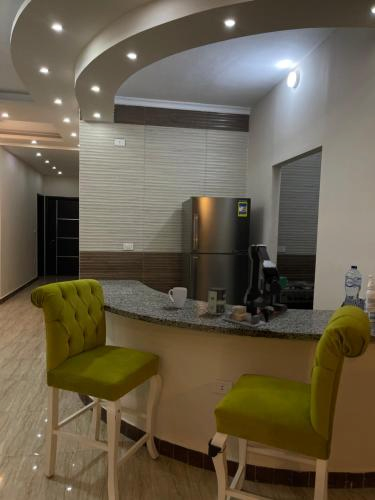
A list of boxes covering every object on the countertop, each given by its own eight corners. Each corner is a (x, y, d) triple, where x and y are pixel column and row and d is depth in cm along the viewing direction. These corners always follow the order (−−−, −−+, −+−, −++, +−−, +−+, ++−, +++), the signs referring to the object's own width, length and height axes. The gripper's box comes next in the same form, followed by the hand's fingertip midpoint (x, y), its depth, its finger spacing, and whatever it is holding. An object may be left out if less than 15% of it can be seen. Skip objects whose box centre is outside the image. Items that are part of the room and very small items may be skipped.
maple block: (231, 318, 193) (232, 307, 193) (238, 316, 197) (239, 305, 197) (237, 319, 190) (238, 308, 190) (244, 318, 194) (245, 306, 194)
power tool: (281, 305, 237) (283, 275, 236) (291, 307, 232) (293, 276, 231) (257, 313, 212) (259, 279, 211) (268, 315, 208) (270, 280, 207)
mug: (188, 307, 222) (189, 288, 222) (181, 309, 215) (181, 290, 215) (172, 304, 229) (172, 286, 228) (164, 306, 222) (165, 287, 221)
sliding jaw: (246, 317, 195) (246, 311, 195) (262, 321, 188) (262, 315, 188) (235, 319, 189) (236, 313, 189) (251, 323, 182) (252, 317, 182)
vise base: (234, 316, 202) (234, 310, 202) (265, 323, 188) (265, 317, 187) (222, 319, 195) (222, 312, 195) (253, 327, 181) (253, 320, 180)
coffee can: (226, 311, 214) (227, 287, 213) (224, 315, 204) (225, 290, 203) (208, 310, 216) (209, 286, 215) (206, 313, 206) (207, 289, 205)
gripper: (242, 290, 181) (241, 321, 182) (275, 295, 168) (274, 329, 168) (256, 288, 189) (254, 318, 190) (288, 293, 175) (286, 325, 176)
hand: (266, 322), depth 181 cm, fingers closed
